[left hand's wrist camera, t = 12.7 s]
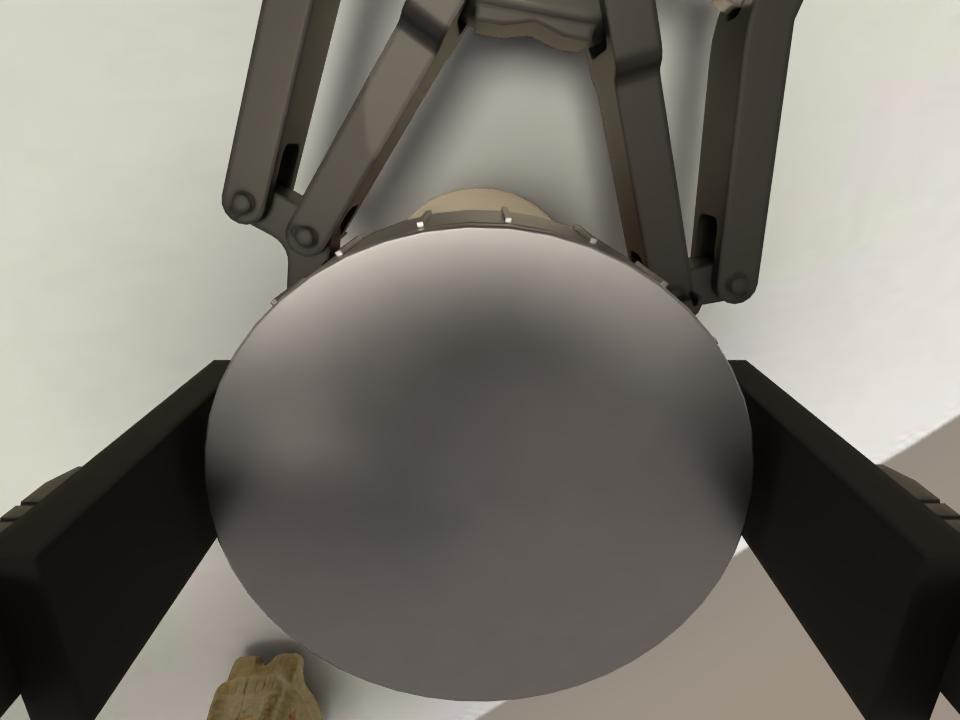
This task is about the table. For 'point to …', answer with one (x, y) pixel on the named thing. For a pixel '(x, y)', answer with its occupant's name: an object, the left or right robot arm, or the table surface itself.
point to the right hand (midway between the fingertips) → (458, 457)
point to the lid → (479, 458)
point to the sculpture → (265, 691)
